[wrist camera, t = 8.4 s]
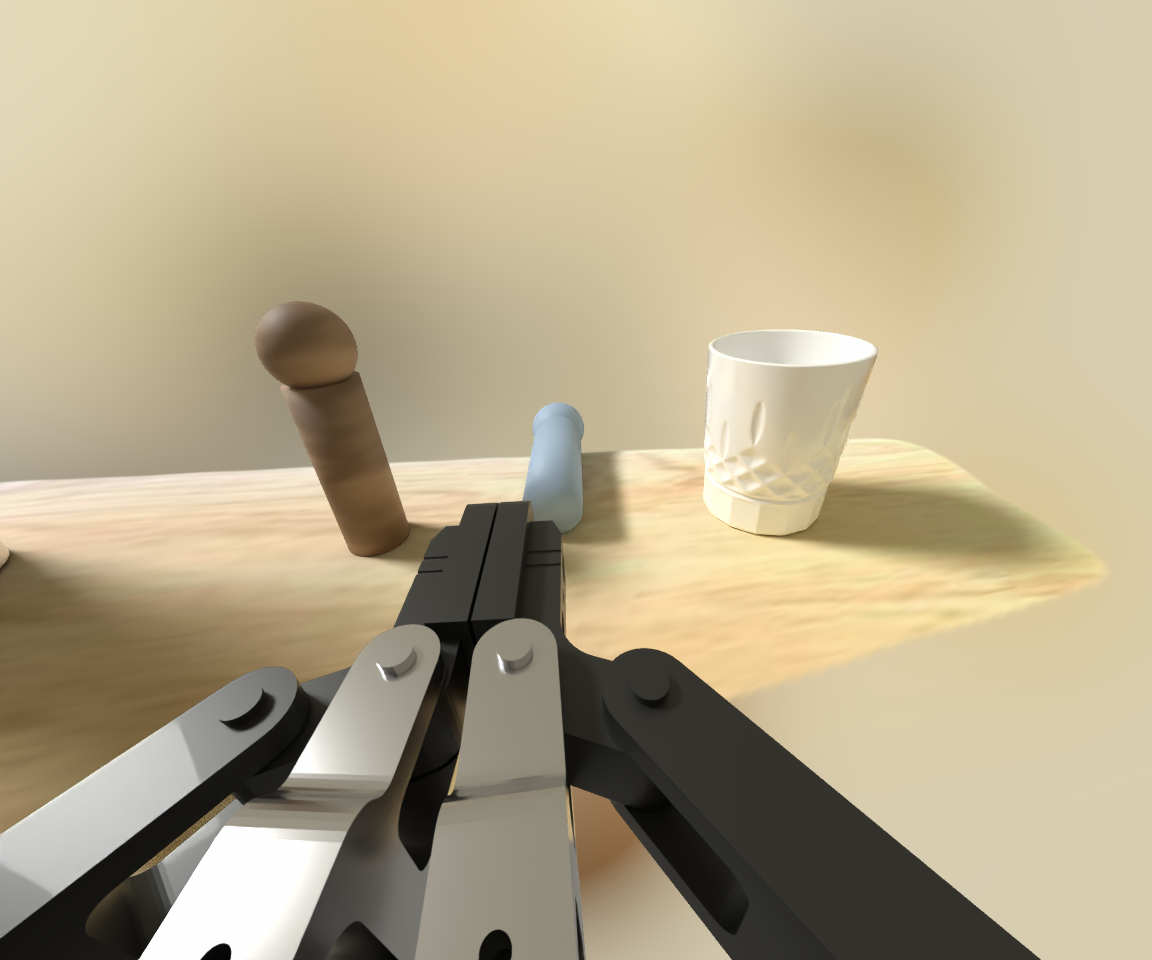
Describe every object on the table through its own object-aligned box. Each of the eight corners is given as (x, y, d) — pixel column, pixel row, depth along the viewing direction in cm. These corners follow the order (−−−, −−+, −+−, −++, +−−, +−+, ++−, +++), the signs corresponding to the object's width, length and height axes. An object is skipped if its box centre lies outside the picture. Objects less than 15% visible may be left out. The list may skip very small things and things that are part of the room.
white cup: (857, 514, 25) (914, 344, 20) (764, 562, 22) (805, 376, 17) (752, 463, 31) (776, 323, 26) (669, 495, 28) (678, 344, 23)
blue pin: (512, 480, 23) (532, 396, 35) (520, 539, 26) (537, 441, 37) (587, 477, 23) (582, 394, 35) (589, 536, 26) (584, 439, 37)
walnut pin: (330, 561, 24) (213, 312, 18) (360, 519, 28) (274, 298, 21) (401, 557, 24) (313, 305, 18) (423, 515, 28) (356, 293, 21)
